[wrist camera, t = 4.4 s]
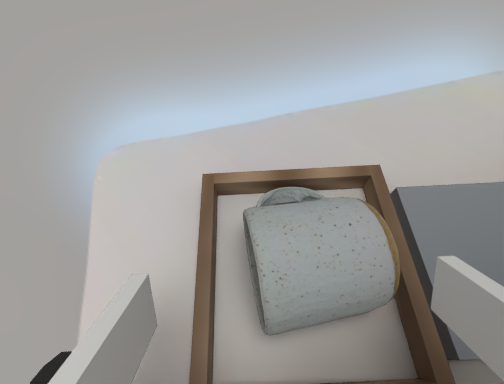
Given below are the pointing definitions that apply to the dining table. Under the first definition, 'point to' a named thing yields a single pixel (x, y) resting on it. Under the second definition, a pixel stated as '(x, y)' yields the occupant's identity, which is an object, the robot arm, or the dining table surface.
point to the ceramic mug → (317, 258)
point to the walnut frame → (367, 177)
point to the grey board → (453, 237)
